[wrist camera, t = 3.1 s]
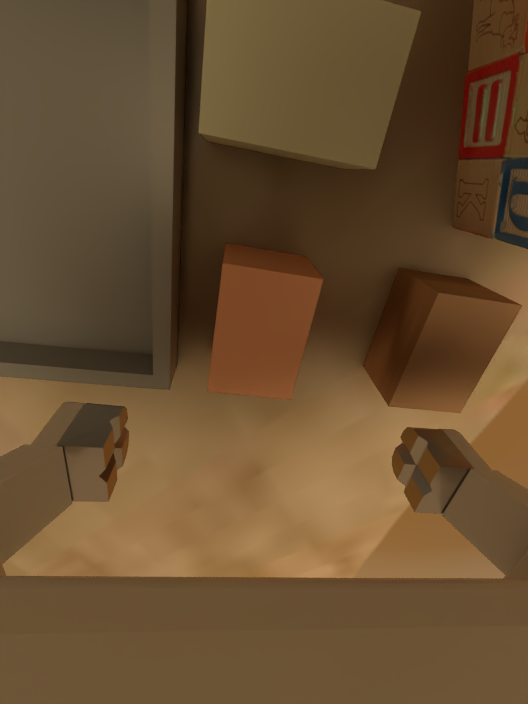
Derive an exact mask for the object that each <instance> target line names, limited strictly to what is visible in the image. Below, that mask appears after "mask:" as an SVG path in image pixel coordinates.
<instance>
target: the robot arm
mask: <svg viewBox="0 0 528 704" xmlns="http://www.w3.org/2000/svg"><path fill="white" fill-rule="evenodd" d="M127 420H128V414H127V408H126V407H123V406H112V405H102V404H91V403H87V404H86V403H77V402H65V403H63V404H62V405H61V406H60V407H59V409H58V410H57V411H56V413H55V414H54V415H53V416H52V418H51V419H50V420H49V422H48V423H47V424H46V426H45V427H44V428H43V430H42V431H41V432H40V433H39V435H38V436H37V437H36V439H35V440H34V441H33V443H32V444H31V445H22V446H20V447H18V448H17V449H15V450H13V451H11V452H9V453H7V454H5V455H3V456H1V457H0V704H528V489H526V488H525V487H523V486H522V485H520V484H518V483H517V482H515V481H513V480H512V479H510V478H508V477H506V476H505V475H503V474H502V473H500V472H499V471H495V470H492V469H491V468H490V467H489V466H488V465H487V464H486V463H485V462H484V460H483V459H482V458H481V457H480V456H479V455H478V453H477V452H476V451H475V450H474V449H473V448H472V446H471V445H470V444H469V443H468V442H467V441H466V439H465V438H464V437H463V436H462V435H461V434H460V433H459V432H458V431H456V430H453V429H427V428H412V427H407V428H406V429H405V430H404V431H403V433H402V435H401V440H402V444H400V445H399V446H398V447H396V448H395V450H394V453H393V456H392V467H393V471H394V474H395V476H396V478H397V480H399V481H400V482H401V483H402V484H404V485H405V490H404V493H405V495H406V497H407V499H408V501H409V503H410V504H411V506H412V508H413V510H414V512H420V513H434V514H443V515H442V516H443V517H444V518H445V519H446V520H447V521H448V522H450V523H451V524H452V525H453V526H454V527H455V528H456V529H457V530H458V531H459V532H460V533H461V534H462V535H463V536H465V538H467V539H468V540H469V541H470V542H471V543H472V544H473V545H474V546H475V547H476V548H477V549H478V550H479V551H480V552H481V553H482V554H483V555H485V556H486V557H487V558H488V559H489V560H490V561H491V562H492V563H493V564H494V565H495V566H496V567H497V568H498V569H499V570H501V571H502V572H503V573H504V574H505V575H506V576H505V577H504V578H503V579H471V578H465V579H464V578H276V577H106V576H6V574H5V571H4V568H3V566H2V564H3V563H5V562H6V561H7V560H8V559H9V558H10V557H11V556H13V555H14V554H15V553H16V552H17V551H18V550H19V549H21V548H22V547H23V546H24V545H25V544H26V543H27V542H29V541H30V540H31V539H32V538H33V537H34V536H35V535H37V534H38V533H39V532H40V531H41V530H42V529H43V528H45V527H46V526H47V525H48V524H49V523H50V522H51V521H53V520H54V519H55V518H56V517H57V516H58V515H60V514H61V513H62V512H63V511H64V510H65V509H66V508H68V507H69V506H70V505H71V504H72V501H98V502H109V499H110V497H111V494H112V492H113V489H114V487H115V484H116V482H117V470H118V469H119V468H121V467H122V466H123V464H124V461H125V458H126V454H127V450H128V443H129V431H128V430H127V429H126V428H125V424H126V422H127Z"/></svg>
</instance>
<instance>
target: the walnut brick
mask: <svg viewBox="0 0 528 704" xmlns="http://www.w3.org/2000/svg"><path fill="white" fill-rule="evenodd" d="M521 307H522V305H520V304H518V303H516V302H514V301H512V300H510V299H508V298H506V297H504V296H502V295H500V294H498V293H495V292H493V291H491V290H489V289H487V288H485V287H483V286H481V285H479V284H477V283H475V282H473V281H471V280H469V279H464V278H458V277H451V276H445V275H439V274H433V273H427V272H421V271H414V270H408V269H402V268H399V269H398V272H397V274H396V277H395V280H394V283H393V285H392V288H391V291H390V294H389V296H388V299H387V302H386V304H385V307H384V310H383V313H382V315H381V318H380V321H379V324H378V326H377V329H376V332H375V334H374V337H373V340H372V343H371V345H370V348H369V351H368V354H367V356H366V359H365V362H364V364H363V367H364V368H365V370H366V371H367V373H368V375H369V376H370V378H371V379H372V381H373V382H374V384H375V386H376V387H377V389H378V390H379V392H380V393H381V395H382V397H383V398H384V400H385V401H386V403H387V404H388V406H390V407H401V408H411V409H422V410H432V411H443V412H453V413H461V411H462V409H463V407H464V406H465V404H466V402H467V400H468V399H469V397H470V395H471V393H472V392H473V390H474V388H475V387H476V385H477V383H478V381H479V380H480V378H481V376H482V374H483V373H484V371H485V369H486V368H487V366H488V364H489V362H490V361H491V359H492V357H493V355H494V354H495V352H496V350H497V349H498V347H499V345H500V343H501V342H502V340H503V338H504V336H505V335H506V333H507V331H508V330H509V328H510V326H511V324H512V323H513V321H514V319H515V317H516V316H517V314H518V312H519V310H520V309H521Z"/></svg>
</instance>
